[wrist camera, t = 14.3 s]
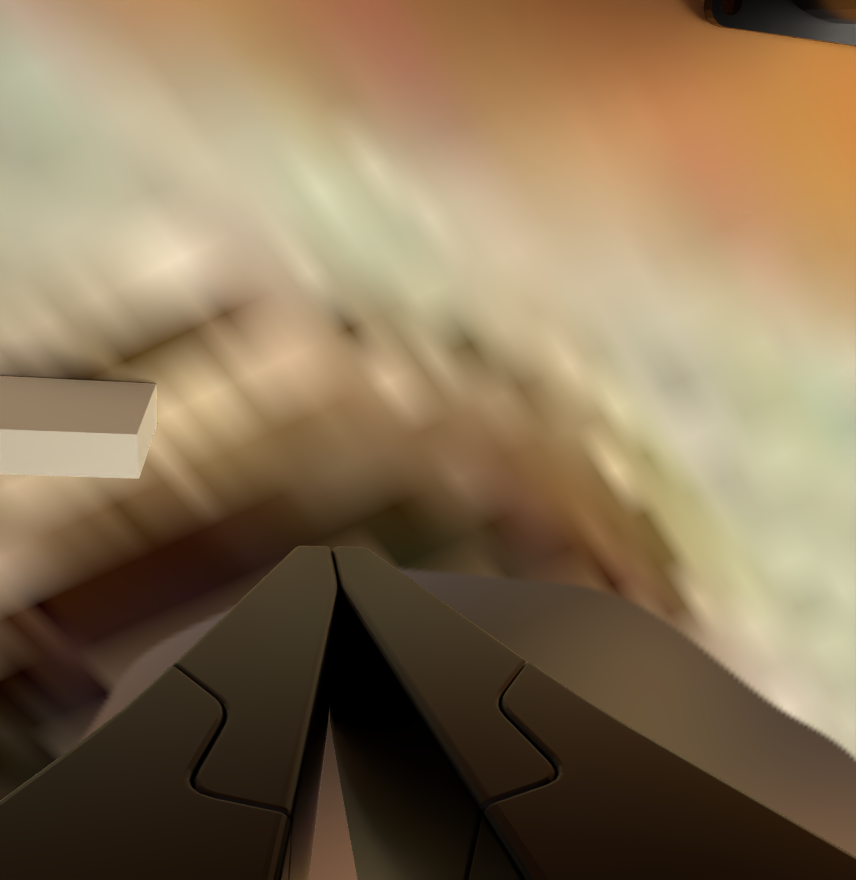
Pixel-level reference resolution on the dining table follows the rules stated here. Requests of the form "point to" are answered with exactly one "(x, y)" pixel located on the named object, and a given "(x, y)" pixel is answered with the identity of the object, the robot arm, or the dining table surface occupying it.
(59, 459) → the trap box
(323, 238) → the dining table surface
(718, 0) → the robot arm
